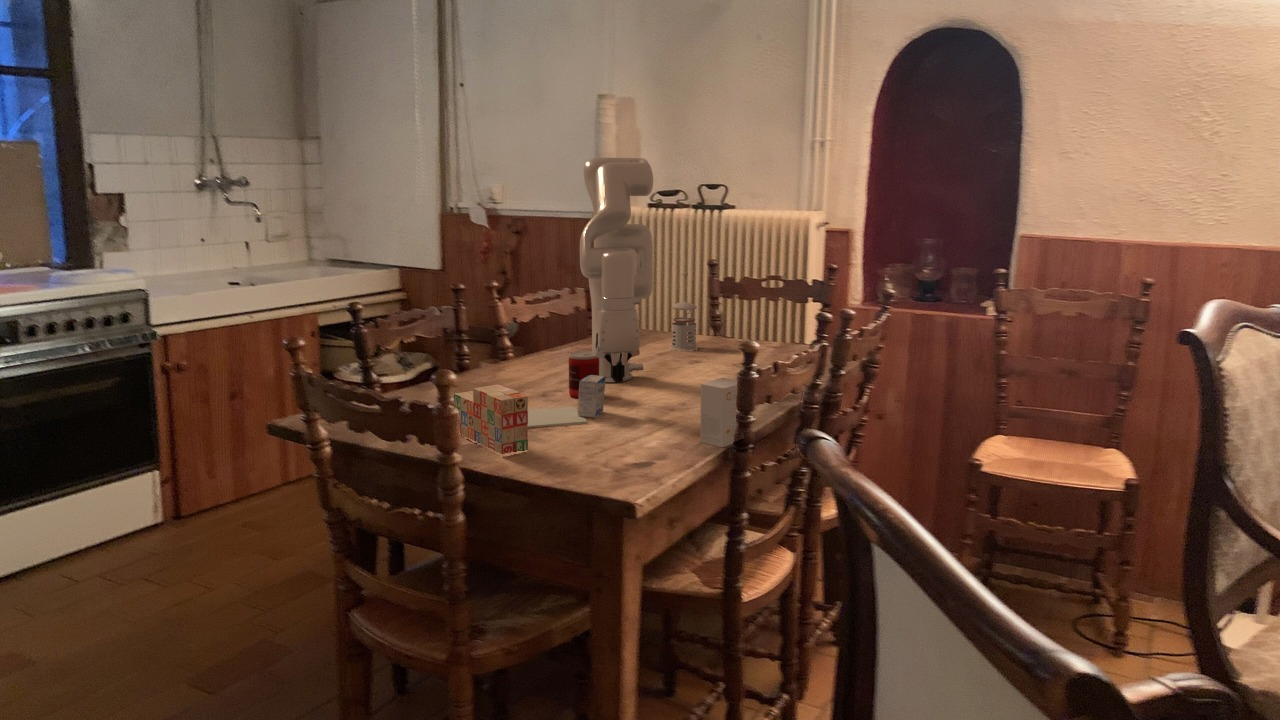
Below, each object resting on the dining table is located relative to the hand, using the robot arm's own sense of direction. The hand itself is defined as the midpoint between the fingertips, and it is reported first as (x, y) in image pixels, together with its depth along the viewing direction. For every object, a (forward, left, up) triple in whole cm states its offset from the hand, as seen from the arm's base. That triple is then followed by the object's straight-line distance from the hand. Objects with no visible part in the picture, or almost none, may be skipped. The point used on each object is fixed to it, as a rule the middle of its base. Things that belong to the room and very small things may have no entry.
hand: (617, 380), depth 224 cm
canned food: (+3, -19, -8) cm, 21 cm away
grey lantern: (-45, -73, -8) cm, 86 cm away
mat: (+18, 0, -8) cm, 20 cm away
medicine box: (+7, 0, -8) cm, 10 cm away
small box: (-15, +29, -8) cm, 34 cm away
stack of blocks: (+33, +16, -8) cm, 38 cm away
